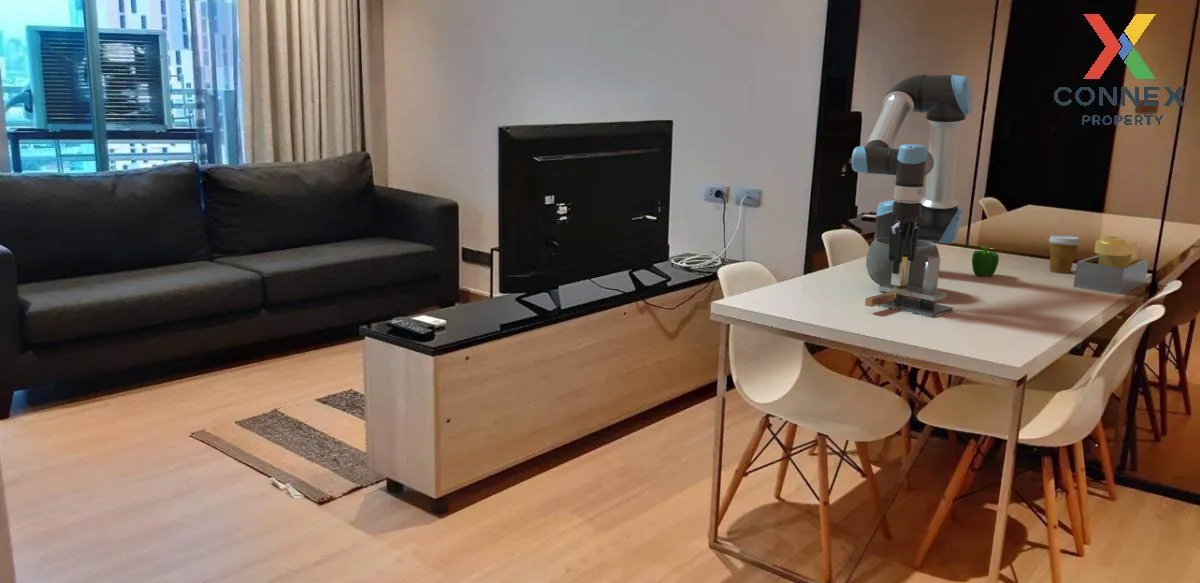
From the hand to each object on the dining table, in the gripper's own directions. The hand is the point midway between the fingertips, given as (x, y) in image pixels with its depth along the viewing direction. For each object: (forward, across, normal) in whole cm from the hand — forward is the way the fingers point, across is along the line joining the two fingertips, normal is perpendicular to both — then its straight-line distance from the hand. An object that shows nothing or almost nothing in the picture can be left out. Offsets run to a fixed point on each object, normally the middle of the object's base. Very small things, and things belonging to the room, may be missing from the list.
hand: (899, 283), depth 262 cm
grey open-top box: (+6, +81, -30) cm, 87 cm away
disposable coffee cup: (+6, +91, -11) cm, 92 cm away
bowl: (+6, +18, +9) cm, 21 cm away
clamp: (+6, +82, -30) cm, 88 cm away
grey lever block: (+6, -5, -5) cm, 9 cm away
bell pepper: (+6, +62, +3) cm, 62 cm away
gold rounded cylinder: (+4, 0, 0) cm, 4 cm away
